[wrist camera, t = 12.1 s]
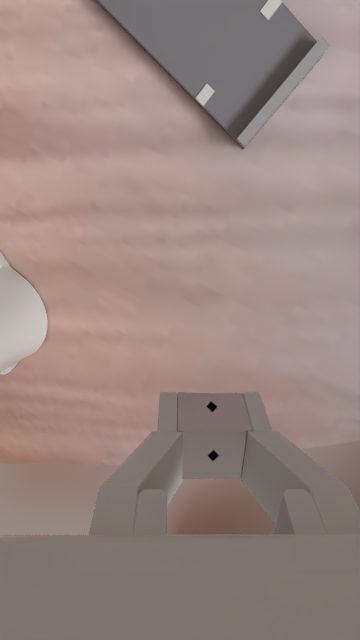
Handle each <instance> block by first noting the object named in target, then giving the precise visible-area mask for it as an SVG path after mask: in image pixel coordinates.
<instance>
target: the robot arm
mask: <svg viewBox="0 0 360 640" xmlns="http://www.w3.org/2000/svg"><path fill="white" fill-rule="evenodd" d="M46 333H47V315H46V311H45V308H44V305H43V303H42V300H41V298H40V297H39V295H38V293H37V292H36V290H35V289H34V288H33V286H32V285H31V284H30V283H29V282H28V281H27V280H26V279H25V278H24V277H22V276H21V275H20V274H19V273H17V272H16V271H15V270H14V269H13V268H12V267H11V266H10V265H9V264H8V262H7V261H6V259H5V258H4V256H3V255H2V253H1V252H0V374H7V373H8V372H10V371H11V370H12V369H13V368H14V367H15V366H16V364H17V363H18V361H20V360H22V359H24V358H26V357H28V356H30V355H31V354H33V353H34V352H36V351H37V350H38V349H39V348H40V346H41V345H42V343H43V341H44V339H45V336H46ZM201 478H202V479H203V478H222V479H223V478H224V479H241V481H242V482H243V484H244V485H245V486H246V487H247V489H248V490H249V491H250V492H251V494H252V495H253V496H254V497H255V499H256V500H257V501H258V502H259V504H260V505H261V506H262V508H263V509H264V510H265V511H266V513H267V514H268V515H269V516H270V518H271V519H272V520H273V522H274V523H275V524H276V528H275V532H274V534H265V535H264V534H260V535H259V534H255V535H254V534H248V535H246V534H245V535H243V534H241V535H167V505H168V504H169V502H170V500H171V499H172V497H173V495H174V493H175V492H176V490H177V489H178V487H179V485H180V484H181V482H182V479H201ZM0 640H360V511H359V509H358V506H357V505H356V502H355V500H354V498H353V496H352V495H351V493H350V491H349V489H348V488H347V487H346V486H345V485H344V484H342V483H341V482H340V481H339V480H338V479H336V478H335V477H334V476H333V475H331V474H330V473H329V472H328V471H326V470H325V469H324V468H323V467H321V466H320V465H319V464H318V463H316V462H315V461H314V460H313V459H312V458H310V457H309V456H308V455H307V454H305V453H304V452H303V451H302V450H300V449H299V448H298V447H297V446H295V445H294V444H293V443H292V442H290V441H289V440H288V439H287V438H285V437H284V436H283V435H282V434H280V433H279V432H275V431H273V430H272V427H271V424H270V422H269V419H268V416H267V413H266V410H265V407H264V404H263V401H262V398H261V396H260V394H259V393H258V392H248V393H185V392H177V393H176V392H161V393H160V399H159V414H158V429H157V431H154V432H152V433H151V434H150V435H149V436H148V437H147V438H146V439H145V440H144V441H143V442H142V443H141V444H140V445H139V446H138V447H137V448H136V450H135V451H134V452H133V453H132V454H131V455H130V456H129V457H128V458H127V459H126V460H125V461H124V462H123V463H122V464H121V466H120V467H119V468H118V469H117V470H116V471H115V472H114V473H113V474H112V475H111V476H110V477H109V478H108V479H107V481H106V482H105V483H104V484H103V485H102V486H101V487H100V488H99V493H98V497H97V501H96V506H95V510H94V515H93V519H92V523H91V528H90V532H89V535H13V536H12V535H0Z"/></svg>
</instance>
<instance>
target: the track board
mask: <svg viewBox="0 0 360 640" xmlns="http://www.w3.org/2000/svg"><path fill="white" fill-rule="evenodd" d="M96 1H97V2H98V3H99V4H100V5H101V6H102V7H103V8H104V9H105V10H106V11H107V12H108V13H109V14H110V15H111V16H112V17H113V18H114V19H115V20H116V21H117V22H118V23H119V24H120V25H121V26H122V27H123V28H124V29H125V30H126V31H127V32H128V33H129V34H130V35H131V36H132V37H133V38H134V39H135V40H136V41H137V42H138V43H139V44H140V45H141V46H142V47H143V48H144V49H145V50H146V51H147V52H148V53H149V54H150V55H151V56H152V57H153V58H154V59H155V60H156V62H157V63H158V64H159V65H160V66H161V67H162V68H163V69H164V70H165V71H166V72H167V73H168V74H169V75H170V76H171V77H172V78H173V79H174V80H175V81H176V82H177V83H178V84H179V85H180V86H181V87H182V88H183V89H184V90H185V91H186V92H187V93H188V94H189V95H190V96H191V97H192V98H193V99H194V100H195V101H196V102H197V103H198V104H199V105H200V106H201V107H202V108H203V109H204V110H205V111H206V112H207V113H208V114H209V115H210V116H211V117H212V118H213V119H214V120H215V121H216V122H217V123H218V124H219V125H220V126H221V127H222V128H223V129H224V130H225V131H226V132H227V133H228V134H229V135H230V136H231V137H232V138H233V139H234V140H235V141H236V142H237V143H238V144H239V145H240V146H241V147H242V148H243V149H244V148H245V147H246V146H247V144H248V143H249V142H250V141H251V140H252V139H253V137H254V136H255V135H256V134H257V133H258V132H259V130H260V129H261V128H262V127H263V126H264V124H265V123H266V122H267V121H268V120H269V119H270V117H271V116H272V115H273V114H274V113H275V111H276V110H277V109H278V108H279V107H280V106H281V104H282V103H283V102H284V101H285V100H286V99H287V97H288V96H289V95H290V94H291V93H292V91H293V90H294V89H295V88H296V87H297V86H298V84H299V83H300V82H301V81H302V80H303V79H304V77H305V76H306V75H307V74H308V73H309V71H310V70H311V69H312V68H313V67H314V66H315V64H316V63H317V62H318V61H319V60H320V58H321V57H322V56H323V54H324V53H325V52H326V50H327V49H328V47H329V46H330V45H329V43H328V42H327V41H326V40H325V39H324V38H323V37H321V38H320V39H319V40H318V42H317V41H316V40H315V39H314V38H313V37H312V35H311V34H310V33H309V32H308V31H307V30H306V29H305V28H304V26H303V25H302V24H301V23H300V22H299V21H298V20H297V19H296V17H295V16H294V15H293V14H292V13H291V12H290V11H289V9H288V8H287V7H286V6H285V5H284V4H283V3H282V1H281V0H96Z"/></svg>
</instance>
